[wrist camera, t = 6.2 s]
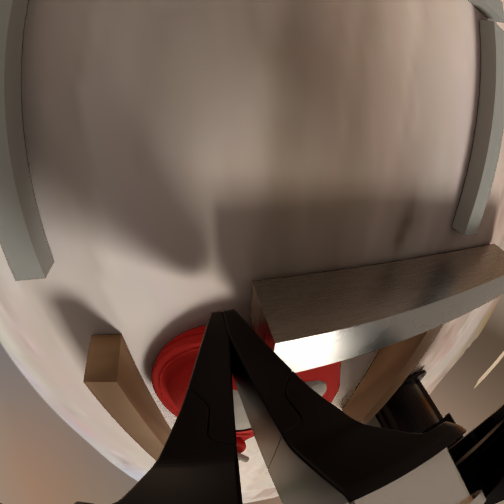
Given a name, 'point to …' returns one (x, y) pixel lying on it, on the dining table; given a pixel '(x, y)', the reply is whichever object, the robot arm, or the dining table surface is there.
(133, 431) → the stall
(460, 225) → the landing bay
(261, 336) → the bar
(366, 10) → the dining table surface
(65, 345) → the dining table surface
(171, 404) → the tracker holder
